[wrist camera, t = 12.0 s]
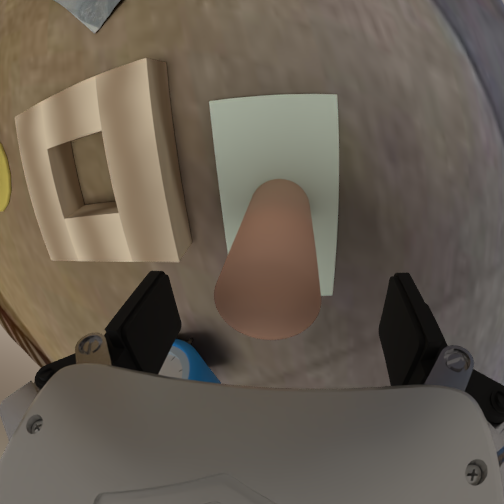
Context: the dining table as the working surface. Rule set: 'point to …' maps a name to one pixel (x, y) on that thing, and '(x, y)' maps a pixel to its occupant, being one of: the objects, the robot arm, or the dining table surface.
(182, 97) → the dining table surface
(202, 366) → the alarm clock
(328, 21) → the dining table surface
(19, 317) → the dining table surface
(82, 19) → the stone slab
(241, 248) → the peg
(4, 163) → the candle
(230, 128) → the mat
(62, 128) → the pocket frame
